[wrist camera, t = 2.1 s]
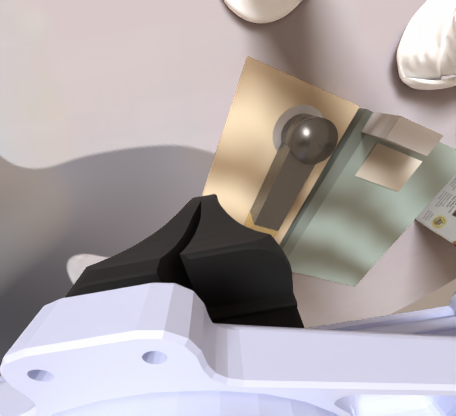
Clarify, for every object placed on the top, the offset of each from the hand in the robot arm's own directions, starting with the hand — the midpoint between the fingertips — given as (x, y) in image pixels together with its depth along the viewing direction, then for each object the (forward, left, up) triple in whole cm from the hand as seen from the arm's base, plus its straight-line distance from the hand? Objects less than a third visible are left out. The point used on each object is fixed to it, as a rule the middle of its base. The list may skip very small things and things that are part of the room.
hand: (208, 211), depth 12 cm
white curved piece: (+15, -14, -9) cm, 22 cm away
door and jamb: (0, -11, -9) cm, 14 cm away
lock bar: (+1, -6, -8) cm, 10 cm away
